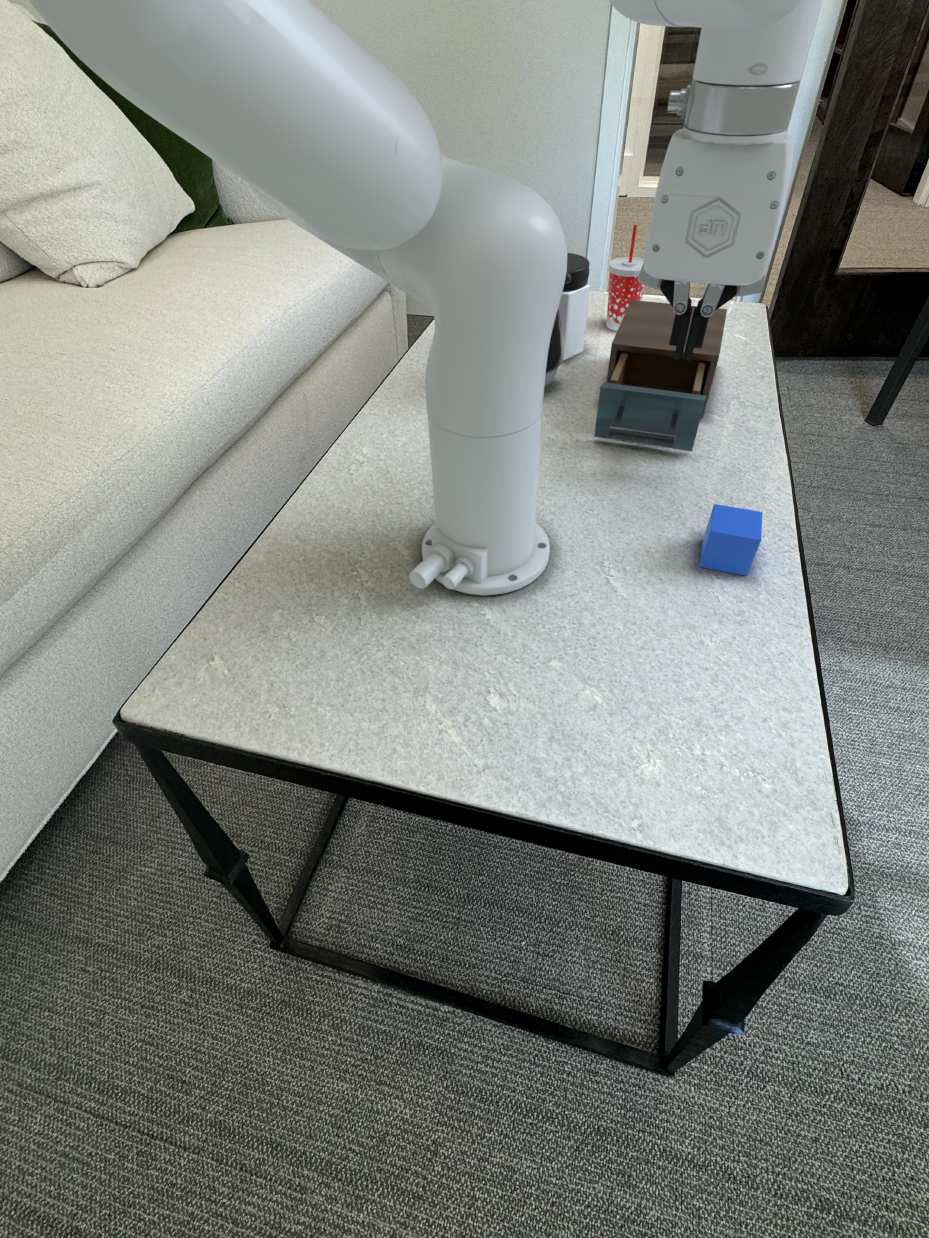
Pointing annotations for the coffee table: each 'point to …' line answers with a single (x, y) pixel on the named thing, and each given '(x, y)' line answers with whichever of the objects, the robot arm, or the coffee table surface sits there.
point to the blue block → (731, 539)
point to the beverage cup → (623, 286)
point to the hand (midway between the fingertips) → (683, 353)
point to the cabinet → (665, 338)
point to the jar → (574, 305)
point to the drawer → (652, 401)
